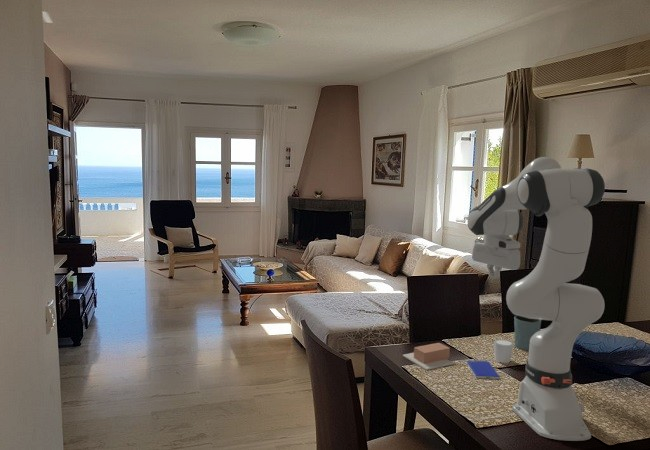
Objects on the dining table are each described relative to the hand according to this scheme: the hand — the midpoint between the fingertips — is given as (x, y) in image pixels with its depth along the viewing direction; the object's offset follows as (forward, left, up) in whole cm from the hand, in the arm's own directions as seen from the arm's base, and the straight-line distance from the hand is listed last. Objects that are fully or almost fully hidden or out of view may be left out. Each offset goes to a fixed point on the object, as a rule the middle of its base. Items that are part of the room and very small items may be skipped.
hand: (493, 277), depth 179 cm
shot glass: (-4, -4, -31) cm, 32 cm away
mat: (-7, +24, -31) cm, 40 cm away
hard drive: (-14, +6, -32) cm, 35 cm away
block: (-3, +17, -28) cm, 33 cm away
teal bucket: (+11, -18, -31) cm, 38 cm away
